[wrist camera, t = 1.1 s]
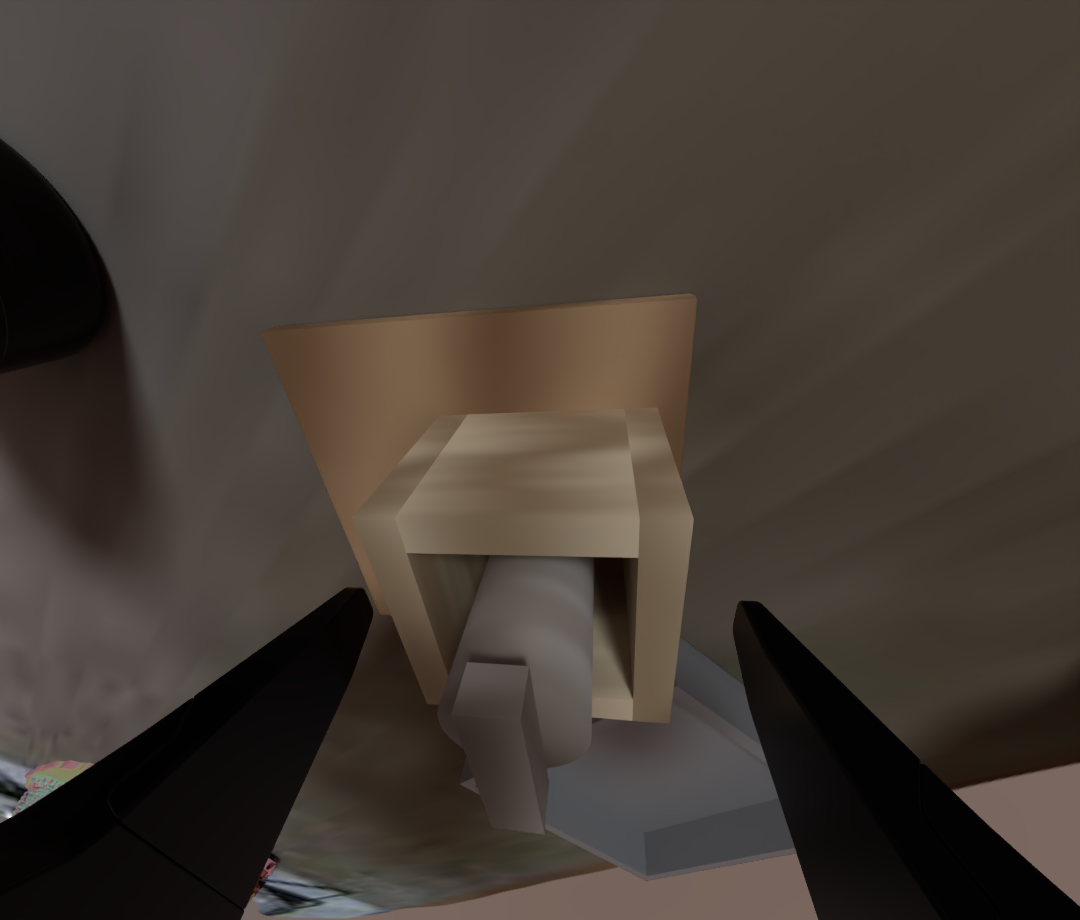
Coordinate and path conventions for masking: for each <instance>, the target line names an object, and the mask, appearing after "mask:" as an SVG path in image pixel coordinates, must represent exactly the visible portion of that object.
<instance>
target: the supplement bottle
mask: <svg viewBox="0 0 1080 920" xmlns="http://www.w3.org/2000/svg"><path fill="white" fill-rule="evenodd" d="M104 314H105V288H104V283H103V278H102V274H101V271H100V267H99V265H98V262H97V259H96V256H95V254H94V252H93V249H92V247H91V245H90V243H89V241H88V239H87V237H86V235H85V233H84V232H83V230H82V228H81V226H80V225H79V223H78V221H77V220H76V218H75V217H74V215H73V214H72V212H71V211H70V209H69V208H68V207H67V205H66V204H65V203H64V201H63V200H62V199H61V197H60V196H59V195H58V194H57V192H56V191H55V190H54V189H53V187H52V186H51V185H50V184H49V183H48V182H47V181H46V180H45V179H44V177H43V176H42V175H41V174H40V173H39V172H38V171H37V170H36V169H35V168H34V167H33V166H32V165H31V164H30V163H29V162H28V161H27V160H26V159H24V158H23V157H22V156H21V155H20V154H19V153H18V152H17V151H15V150H14V149H13V148H12V147H11V146H9V145H8V144H7V143H5V142H4V141H3V140H2V139H0V374H2V373H6V372H11V371H15V370H19V369H23V368H27V367H31V366H34V365H39V364H43V363H47V362H51V361H54V360H58V359H62V358H65V357H68V356H71V355H73V354H76V353H78V352H79V351H81V350H82V349H84V348H85V347H87V346H88V345H89V344H90V343H91V342H92V341H93V339H94V338H95V337H96V335H97V334H98V332H99V330H100V328H101V325H102V322H103V319H104Z"/></svg>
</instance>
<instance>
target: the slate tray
mask: <svg viewBox="0 0 1080 920" xmlns="http://www.w3.org/2000/svg"><path fill="white" fill-rule="evenodd" d="M547 773H548V779H549V790H548V801H547V812H546V823H545V829H547V830H549V831H551V832H552V833H554V834H556V835H558V836H560V837H562V838H564V839H566V840H568V841H570V842H572V843H574V844H576V845H578V846H579V847H581V848H583V849H585V850H587V851H589V852H591V853H593V854H595V855H597V856H599V857H601V858H603V859H605V860H606V861H608V862H610V863H612V864H614V865H616V866H618V867H620V868H622V869H624V870H626V871H628V872H630V873H632V874H634V875H636V876H637V877H639V878H641V879H643V880H645V881H649V880H655V879H660V878H666V877H671V876H677V875H682V874H687V873H692V872H698V871H704V870H708V869H715V868H720V867H726V866H731V865H736V864H742V863H747V862H753V861H758V860H764V859H768V858H774V857H779V856H785V855H791V854H796V850H795V847H794V844H793V841H792V838H791V835H790V832H789V829H788V826H787V822H786V819H785V816H784V813H783V810H782V807H781V804H780V801H779V798H778V795H777V792H776V789H775V786H774V783H773V780H772V777H771V774H770V771H769V768H768V765H767V762H766V759H765V755H764V752H763V749H762V746H761V743H760V740H759V737H758V734H757V731H756V728H755V725H754V722H753V719H752V715H751V712H750V709H749V705H748V701H747V696H746V692H745V687H744V685H743V684H741V683H740V682H739V681H738V680H736V679H735V678H734V677H732V676H731V675H730V674H728V673H727V672H726V671H724V670H723V669H722V668H720V667H719V666H718V665H716V664H715V663H714V662H712V661H711V660H710V659H708V658H707V657H706V656H704V655H703V654H702V653H700V652H699V651H698V650H697V649H695V648H694V647H693V646H691V645H690V644H689V643H687V642H686V641H685V640H683V639H682V638H681V637H680V639H679V647H678V656H677V664H676V672H675V681H674V689H673V698H672V706H671V714H670V723H669V724H666V723H653V722H641V721H629V720H617V719H605V718H592V735H591V744H590V747H589V749H588V750H587V752H586V753H585V754H584V755H583V756H582V757H580V758H579V759H577V760H575V761H573V762H571V763H569V764H566V765H563V766H558V767H553V768H547ZM459 784H460V785H462V786H464V787H466V788H468V789H469V790H471V791H473V792H475V793H477V794H479V791H478V788H477V785H476V783H475V780H474V777H473V774H472V772H471V769H470V766H469V763H468V760H467V758H466V759H465V763H464V767H463V771H462V775H461V779H460V783H459ZM479 795H480V794H479Z"/></svg>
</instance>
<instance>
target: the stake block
mask: <svg viewBox="0 0 1080 920" xmlns="http://www.w3.org/2000/svg"><path fill="white" fill-rule="evenodd" d="M696 307H697V297H695V296H694V295H692V294H678V295H665V296H653V297H640V298H627V299H615V300H602V301H589V302H577V303H564V304H551V305H538V306H526V307H513V308H500V309H488V310H475V311H462V312H450V313H437V314H424V315H412V316H399V317H386V318H374V319H361V320H348V321H336V322H323V323H310V324H298V325H285V326H278V327H274V328H271V329H268V330H264V331H261V335H262V337H263V339H264V342H265V344H266V346H267V349H268V351H269V353H270V356H271V358H272V361H273V363H274V365H275V368H276V370H277V372H278V375H279V377H280V379H281V382H282V384H283V387H284V389H285V391H286V394H287V396H288V398H289V401H290V403H291V405H292V408H293V410H294V413H295V415H296V417H297V420H298V422H299V424H300V427H301V429H302V431H303V434H304V436H305V439H306V441H307V443H308V446H309V448H310V450H311V453H312V455H313V457H314V460H315V462H316V464H317V467H318V469H319V472H320V474H321V476H322V479H323V481H324V483H325V486H326V488H327V490H328V493H329V495H330V498H331V500H332V502H333V505H334V507H335V509H336V512H337V514H338V516H339V519H340V521H341V524H342V526H343V528H344V531H345V533H346V535H347V538H348V540H349V542H350V545H351V547H352V550H353V552H354V554H355V557H356V559H357V561H358V564H359V566H360V568H361V571H362V573H363V576H364V578H365V580H366V583H367V585H368V587H369V590H370V592H371V594H372V597H373V599H374V602H375V604H376V606H377V609H378V611H379V613H380V615H391V613H390V611H389V608H388V606H387V604H386V601H385V599H384V596H383V594H382V591H381V589H380V586H379V584H378V581H377V579H376V576H375V574H374V571H373V569H372V566H371V564H370V561H369V559H368V556H367V554H366V551H365V549H364V547H363V544H362V542H361V539H360V537H359V534H358V532H357V529H356V527H355V524H354V522H353V519H352V517H353V516H354V515H355V513H356V512H357V511H358V510H359V509H360V508H361V506H362V505H363V504H364V503H365V502H366V501H367V499H368V498H369V497H370V496H371V495H372V494H373V492H374V491H375V490H376V489H377V488H378V487H379V485H380V484H381V483H382V482H383V481H384V480H385V478H386V477H387V476H388V475H389V474H390V473H391V471H392V470H393V469H394V468H395V467H396V466H397V464H398V463H399V462H400V461H401V460H402V459H403V457H404V456H405V455H406V454H407V453H408V452H409V450H410V449H411V448H412V447H413V446H414V445H415V443H416V442H417V441H418V440H419V439H420V438H421V436H422V435H423V434H424V433H425V432H426V431H427V429H428V428H429V427H430V426H431V425H432V424H433V422H434V421H435V420H436V419H437V418H438V416H441V415H468V414H495V413H522V412H549V411H576V410H603V409H630V408H658V411H659V415H660V418H661V421H662V424H663V427H664V430H665V433H666V436H667V439H668V442H669V445H670V448H671V451H672V454H673V457H674V460H675V464H676V467H677V470H678V473H679V476H680V479H681V468H682V457H683V446H684V436H685V425H686V414H687V404H688V393H689V382H690V371H691V361H692V350H693V339H694V328H695V318H696ZM593 599H594V557H572V556H522V555H489V558H488V561H487V564H486V567H485V570H484V573H483V576H482V578H481V581H480V584H479V587H478V590H477V593H476V596H475V599H474V602H473V605H472V608H471V611H470V614H469V617H468V620H467V623H466V626H465V629H464V632H463V635H462V638H461V641H460V644H459V647H458V650H457V653H456V656H455V659H454V662H453V665H452V668H451V671H450V674H449V677H448V680H447V683H446V686H445V689H444V692H443V695H442V698H441V700H440V703H439V706H438V711H437V717H438V721H439V724H440V726H441V728H442V729H443V731H444V732H445V734H446V735H447V736H448V737H449V738H450V739H451V740H452V741H454V742H455V743H456V744H457V745H459V746H460V747H462V748H463V749H464V752H465V755H466V758H467V760H468V763H469V766H470V769H471V772H472V774H473V777H474V780H475V783H476V785H477V788H478V791H479V794H480V797H481V799H482V802H483V805H484V808H485V810H486V813H487V816H488V819H489V821H490V824H491V827H492V828H497V829H505V830H513V831H521V832H528V833H536V834H544V835H545V823H546V812H547V801H548V790H549V779H548V773H547V768H553V767H558V766H563V765H566V764H569V763H571V762H573V761H575V760H577V759H579V758H580V757H582V756H583V755H584V754H585V753H586V752H587V750H588V749H589V747H590V744H591V735H592V667H593Z"/></svg>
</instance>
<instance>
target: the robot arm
mask: <svg viewBox="0 0 1080 920" xmlns="http://www.w3.org/2000/svg"><path fill="white" fill-rule="evenodd" d="M372 618H373V608H372V605H371V603H370V601H369V598H368V596H367V594H366V591H365V590H364V589H363V588H361V587H347V588H345V589H343V590H342V591H340V592H339V593H337V594H336V595H335V596H333V597H332V598H330V599H329V600H328V601H326V602H325V603H323V604H322V605H321V606H319V607H318V608H317V609H315V610H314V611H312V612H311V613H310V614H308V615H307V616H305V617H304V618H303V619H301V620H300V621H298V622H297V623H296V624H294V625H293V626H291V627H290V628H289V629H287V630H286V631H284V632H283V633H282V634H280V635H279V636H277V637H276V638H275V639H273V640H272V641H270V642H269V643H268V644H266V645H265V646H263V647H262V648H261V649H259V650H258V651H257V652H255V653H254V654H252V655H251V656H250V657H248V658H247V659H245V660H244V661H243V662H241V663H240V664H238V665H237V666H236V667H234V668H233V669H231V670H230V671H229V672H227V673H226V674H224V675H223V676H222V677H220V678H219V679H217V680H216V681H215V682H213V683H212V684H210V685H209V686H208V687H206V688H205V689H203V690H202V691H201V692H199V693H198V694H196V695H195V696H194V698H192V699H189V700H188V701H187V702H185V703H184V704H182V705H181V706H180V707H178V708H177V709H175V710H174V711H173V712H171V713H170V714H168V715H167V716H166V717H164V718H163V719H161V720H160V721H158V722H157V723H155V724H154V725H153V726H151V727H150V728H148V729H147V730H145V731H144V732H143V733H141V734H140V735H138V736H137V737H135V738H134V739H132V740H131V741H129V742H128V743H126V744H124V745H123V746H121V747H120V748H118V749H117V750H115V751H114V752H112V753H111V754H109V755H108V756H106V757H105V758H103V759H102V760H100V761H99V762H97V763H95V764H94V765H92V766H91V767H89V768H88V769H86V770H85V771H83V772H82V773H80V774H78V775H77V776H75V777H74V778H72V779H71V780H69V781H68V782H66V783H65V784H63V785H61V786H60V787H58V788H57V789H55V790H54V791H52V792H51V793H49V794H48V795H46V796H44V797H43V798H41V799H40V800H38V801H37V802H35V803H34V804H32V805H31V806H29V807H27V808H26V809H24V810H22V811H21V812H19V813H18V814H16V815H14V816H13V817H11V818H9V819H7V820H5V821H3V822H2V823H0V920H241V918H242V915H243V913H244V910H243V909H245V908H246V906H247V904H248V902H249V900H250V897H251V895H252V893H253V891H254V889H255V887H256V884H257V882H258V880H259V878H260V876H261V874H262V871H263V869H264V867H265V865H266V863H267V861H268V858H269V856H270V854H271V852H272V850H273V848H274V845H275V843H276V841H277V839H278V837H279V835H280V832H281V830H282V828H283V826H284V824H285V821H286V819H287V817H288V815H289V813H290V811H291V808H292V806H293V804H294V802H295V800H296V798H297V795H298V793H299V791H300V789H301V787H302V785H303V782H304V780H305V778H306V776H307V774H308V772H309V769H310V767H311V765H312V763H313V761H314V758H315V756H316V754H317V752H318V750H319V748H320V745H321V743H322V741H323V739H324V737H325V735H326V732H327V730H328V728H329V726H330V724H331V722H332V719H333V717H334V715H335V713H336V711H337V709H338V706H339V704H340V702H341V700H342V698H343V696H344V693H345V691H346V689H347V687H348V684H349V682H350V680H351V677H352V675H353V672H354V670H355V667H356V664H357V661H358V658H359V656H360V653H361V650H362V647H363V644H364V641H365V639H366V636H367V633H368V630H369V627H370V624H371V621H372ZM733 635H734V640H735V645H736V650H737V654H738V659H739V664H740V668H741V673H742V678H743V682H744V687H745V692H746V696H747V701H748V705H749V709H750V712H751V715H752V719H753V722H754V725H755V728H756V731H757V734H758V737H759V740H760V743H761V746H762V749H763V752H764V755H765V759H766V762H767V765H768V768H769V771H770V774H771V777H772V780H773V783H774V786H775V789H776V792H777V795H778V798H779V801H780V804H781V807H782V810H783V813H784V816H785V819H786V822H787V826H788V829H789V832H790V835H791V838H792V841H793V844H794V847H795V850H796V853H797V856H798V859H799V862H800V865H801V868H802V871H803V874H804V877H805V880H806V883H807V886H808V889H809V893H810V896H811V899H812V902H813V905H814V908H815V911H816V914H817V917H818V920H1080V906H1078V905H1077V904H1076V903H1075V902H1074V901H1073V900H1072V899H1071V898H1069V897H1068V896H1067V895H1066V894H1065V893H1064V892H1063V891H1061V890H1060V889H1059V888H1058V887H1057V886H1056V885H1055V884H1053V883H1052V882H1051V881H1050V880H1049V879H1048V878H1047V877H1045V876H1044V875H1043V874H1042V873H1041V872H1040V871H1039V870H1037V869H1036V868H1035V867H1034V866H1033V865H1032V864H1031V863H1030V862H1028V861H1027V860H1026V859H1025V858H1024V857H1023V856H1022V855H1021V854H1019V852H1017V851H1016V850H1015V849H1014V848H1013V847H1012V846H1011V845H1010V844H1009V843H1007V842H1006V841H1005V840H1004V839H1003V838H1002V837H1001V836H1000V835H999V834H997V833H996V832H995V831H994V830H993V829H992V828H991V827H989V825H987V824H986V823H985V822H984V821H983V820H982V819H981V818H980V817H979V816H978V815H977V814H976V813H975V812H974V811H973V810H972V809H971V808H970V807H969V806H968V805H966V804H965V803H964V802H963V801H962V800H961V799H960V798H959V797H958V796H957V795H956V794H955V793H954V792H953V791H952V790H951V789H950V788H949V787H948V786H947V785H946V784H945V783H944V782H943V781H942V780H941V779H940V778H938V777H937V776H936V775H935V774H934V773H933V772H932V771H931V770H930V769H929V768H928V767H927V766H926V765H925V764H921V761H920V759H919V758H918V757H917V756H916V755H915V754H914V753H913V752H912V751H911V750H910V749H909V748H908V747H907V746H906V745H905V744H904V743H903V742H902V741H901V740H900V739H899V738H898V737H897V736H896V735H895V734H894V733H893V732H892V731H890V730H889V729H888V728H887V727H886V726H885V725H884V724H883V723H882V722H881V721H880V720H879V719H878V718H877V717H876V716H875V715H874V714H873V713H872V712H871V711H870V710H869V709H868V708H867V707H866V706H865V705H864V704H863V703H862V702H861V701H860V700H859V699H858V698H857V697H856V696H855V695H854V694H853V693H852V692H851V691H850V690H849V689H848V688H847V687H846V686H845V685H844V684H843V683H842V682H841V681H840V680H839V679H838V678H837V677H836V676H835V675H834V674H833V673H832V672H831V671H830V670H828V669H827V668H826V667H825V666H824V665H823V664H822V663H821V662H820V661H819V660H818V659H817V658H816V657H815V656H814V655H813V654H812V653H811V652H810V651H809V650H808V649H807V648H806V647H805V646H804V645H803V644H802V643H801V642H800V641H799V640H798V639H797V638H796V637H795V636H794V635H793V634H792V633H791V632H790V631H789V630H788V629H787V628H786V627H785V626H784V625H783V624H782V623H781V622H780V621H779V620H778V619H777V618H776V617H775V616H774V615H773V614H772V613H771V612H770V611H769V610H768V609H767V608H765V607H764V606H763V605H762V604H761V603H760V602H757V601H740V602H739V603H738V605H737V609H736V613H735V618H734V623H733Z"/></svg>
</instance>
